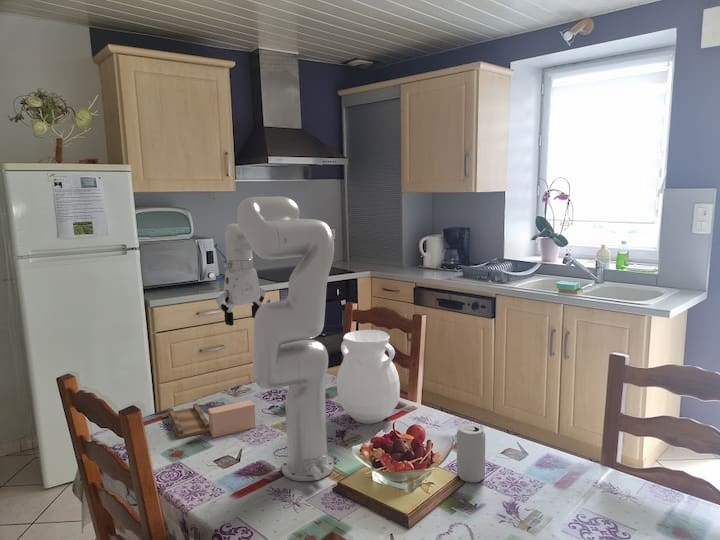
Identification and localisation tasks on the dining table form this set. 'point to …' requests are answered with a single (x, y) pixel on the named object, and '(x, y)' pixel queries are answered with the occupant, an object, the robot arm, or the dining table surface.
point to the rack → (188, 421)
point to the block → (231, 418)
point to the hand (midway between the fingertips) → (243, 321)
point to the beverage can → (471, 452)
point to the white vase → (368, 376)
